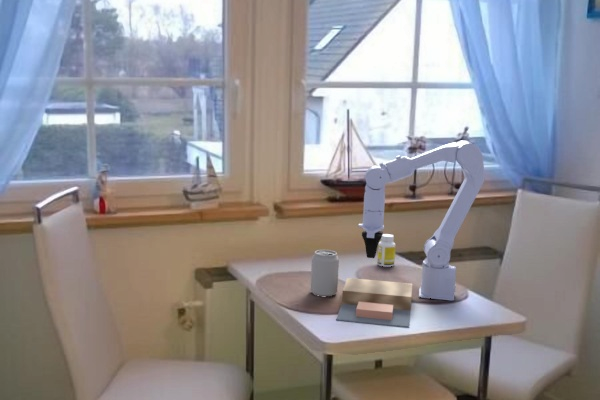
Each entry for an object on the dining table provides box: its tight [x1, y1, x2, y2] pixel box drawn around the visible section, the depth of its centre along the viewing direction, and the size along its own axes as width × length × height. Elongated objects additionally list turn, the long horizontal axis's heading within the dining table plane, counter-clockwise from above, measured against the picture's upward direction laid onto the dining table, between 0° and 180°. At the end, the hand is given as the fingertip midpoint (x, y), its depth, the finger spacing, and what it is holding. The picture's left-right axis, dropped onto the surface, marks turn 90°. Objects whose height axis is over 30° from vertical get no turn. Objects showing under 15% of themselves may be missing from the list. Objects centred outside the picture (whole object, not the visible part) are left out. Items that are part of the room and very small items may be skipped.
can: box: [309, 249, 340, 297], centre depth 200 cm, size 8×8×12 cm
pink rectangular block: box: [356, 302, 393, 320], centre depth 185 cm, size 9×6×2 cm, turn 80°
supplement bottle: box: [376, 233, 396, 268], centre depth 232 cm, size 5×5×10 cm
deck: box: [341, 277, 413, 311], centre depth 197 cm, size 18×12×4 cm, turn 80°
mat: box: [335, 303, 411, 328], centre depth 185 cm, size 18×12×1 cm, turn 80°
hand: (370, 257), depth 203 cm, fingers closed
